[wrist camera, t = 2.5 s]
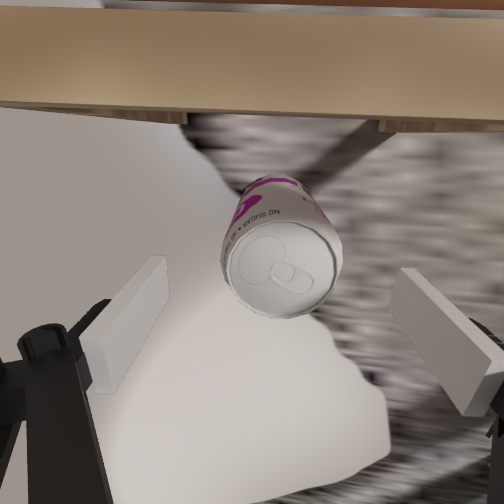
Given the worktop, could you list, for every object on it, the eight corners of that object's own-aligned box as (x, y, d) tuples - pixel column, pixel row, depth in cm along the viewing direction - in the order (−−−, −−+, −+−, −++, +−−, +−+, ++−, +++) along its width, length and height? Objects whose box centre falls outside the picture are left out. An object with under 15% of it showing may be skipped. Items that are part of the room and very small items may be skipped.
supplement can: (226, 222, 31) (195, 292, 18) (263, 158, 28) (259, 181, 15) (285, 255, 33) (299, 343, 19) (326, 197, 30) (377, 252, 16)
